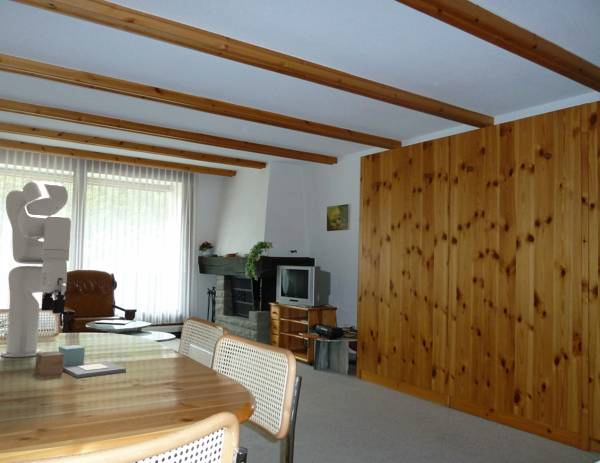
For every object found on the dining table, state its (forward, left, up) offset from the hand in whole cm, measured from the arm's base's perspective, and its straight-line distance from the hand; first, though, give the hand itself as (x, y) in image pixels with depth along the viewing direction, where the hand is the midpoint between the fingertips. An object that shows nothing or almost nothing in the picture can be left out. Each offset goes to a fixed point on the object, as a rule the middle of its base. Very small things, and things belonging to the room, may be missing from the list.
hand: (52, 311), depth 158 cm
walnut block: (0, 0, -19) cm, 19 cm away
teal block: (-8, +10, -19) cm, 22 cm away
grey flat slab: (+4, +12, -19) cm, 22 cm away
